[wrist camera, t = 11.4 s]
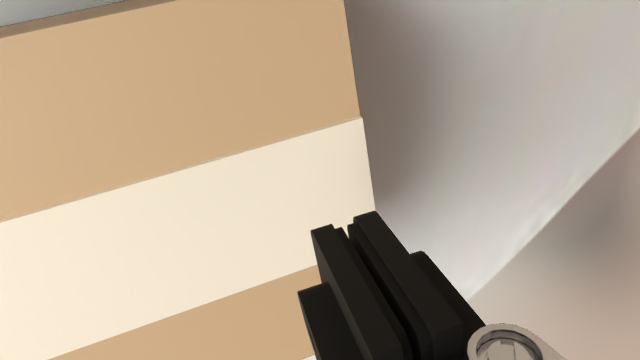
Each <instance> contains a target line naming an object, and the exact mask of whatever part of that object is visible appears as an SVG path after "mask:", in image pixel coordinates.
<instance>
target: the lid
mask: <svg viewBox="0 0 640 360" xmlns="http://www.w3.org/2000/svg"><path fill="white" fill-rule="evenodd" d="M371 211H376V210H375V203H374V196H373V189H372V182H371V175H370V168H369V160H368V153H367V146H366V139H365V132H364V125H363V118H362V117H361V116H360V112H359V105H358V98H357V91H356V84H355V77H354V70H353V63H352V56H351V49H350V42H349V35H348V28H347V21H346V14H345V7H344V0H170V1H165V2H161V3H156V4H151V5H146V6H142V7H137V8H132V9H128V10H123V11H118V12H114V13H109V14H104V15H100V16H95V17H90V18H85V19H81V20H76V21H71V22H67V23H62V24H57V25H53V26H48V27H43V28H38V29H34V30H29V31H24V32H20V33H15V34H10V35H6V36H1V37H0V360H302V359H305V358H307V357H310V356H312V355H315V353H314V350H313V347H312V344H311V341H310V337H309V334H308V331H307V328H306V324H305V321H304V317H303V314H302V310H301V306H300V302H299V298H298V294H297V291H300V290H303V289H306V288H309V287H312V286H315V285H318V284H321V278H320V274H319V269H318V265H317V260H316V256H315V251H314V247H313V243H312V238H311V232H310V231H311V230H313V229H316V228H319V227H322V226H326V225H329V224H332V225H333V226H334V228H335V229H336V228H339V227H342V228H343V229H344V231H345V233H346V234H347V236H348V231H347V225H349V224H352V223H353V217H355V216H358V215H361V214H365V213H368V212H371ZM348 238H349V236H348Z"/></svg>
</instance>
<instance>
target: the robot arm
mask: <svg viewBox="0 0 640 360" xmlns="http://www.w3.org/2000/svg"><path fill="white" fill-rule="evenodd" d="M347 231H348V236H349V238H348V236H347V234H346V233H345V231H344V229H343V228H342V227H339V228H336V229H335V228H334V226H333V225H332V224H329V225H326V226H322V227H319V228H316V229H313V230H311V231H310V232H311V238H312V243H313V247H314V251H315V256H316V260H317V265H318V269H319V274H320V278H321V284H318V285H315V286H312V287H309V288H306V289H303V290H300V291H297V294H298V298H299V302H300V306H301V310H302V314H303V317H304V321H305V324H306V328H307V331H308V334H309V337H310V341H311V344H312V347H313V350H314V353H315V356H316V359H317V360H566V359H565V358H564V357H563V356H561V355H560V354H559V353H558V352H557V351H555V350H554V349H553V348H552V347H550V346H549V345H548V344H547V343H546V342H544V341H543V340H542V339H541V338H540V337H538V336H537V335H535V334H534V333H532V332H531V331H529V330H527V329H525V328H522V327H519V326H517V325H512V324H505V323H499V324H490V325H487V326H486V325H485V324H484V322H483V321H482V320H481V319H480V317H479V316H478V315H477V314H476V313H475V312H474V310H473V309H472V308H471V307H470V306H469V304H468V303H467V302H466V301H465V300H464V298H463V297H462V296H461V295H460V294H459V292H458V291H457V290H456V289H455V288H454V286H453V285H452V284H451V283H450V282H449V280H448V279H447V278H446V277H445V276H444V275H443V273H442V272H441V271H440V270H439V269H438V267H437V266H436V265H435V264H434V263H433V261H432V260H431V259H430V258H429V257H428V255H426V254H425V253H424V252H423V251H418V252H415V253H412V254H409V253H408V252H407V250H406V249H405V248H404V246H403V245H402V244H401V243H400V241H399V240H398V239H397V237H396V236H395V235H394V234H393V232H392V231H391V230H390V229H389V227H388V226H387V225H386V223H385V222H384V221H383V220H382V218H381V217H380V216H379V214H378V213H377V212H376V211H371V212H368V213H365V214H361V215H358V216H355V217H353V223H352V224H349V225H347Z"/></svg>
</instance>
